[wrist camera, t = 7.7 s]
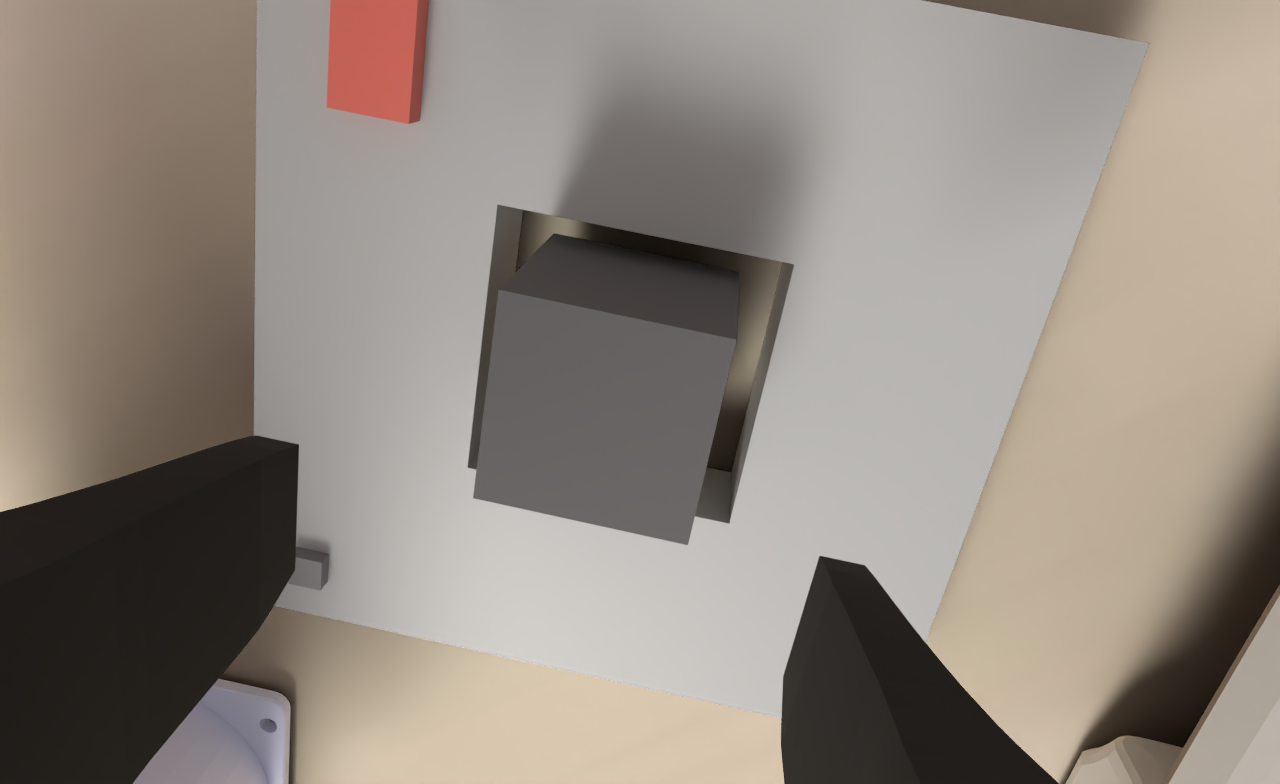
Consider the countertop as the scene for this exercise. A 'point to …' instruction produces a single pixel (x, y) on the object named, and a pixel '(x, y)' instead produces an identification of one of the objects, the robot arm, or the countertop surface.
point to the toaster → (1211, 728)
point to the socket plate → (678, 210)
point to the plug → (606, 386)
